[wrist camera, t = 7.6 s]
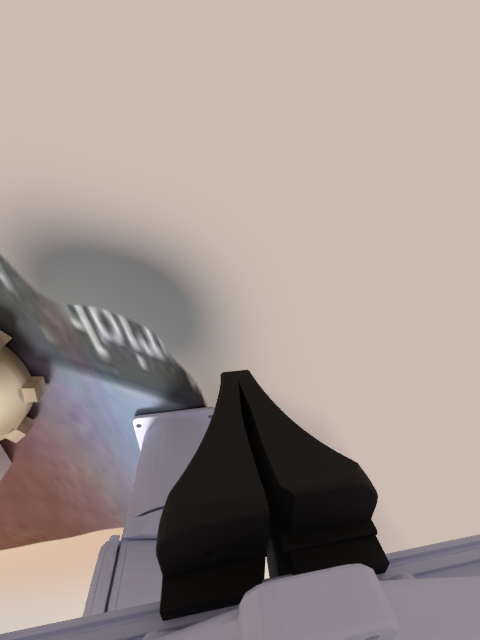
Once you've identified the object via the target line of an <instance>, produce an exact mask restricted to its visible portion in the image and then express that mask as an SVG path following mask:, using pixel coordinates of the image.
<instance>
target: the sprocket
mask: <svg viewBox="0 0 480 640" xmlns="http://www.w3.org/2000/svg"><path fill="white" fill-rule="evenodd" d="M11 339H12V337H10V336H9V335H7V334H6V333H4V332H3V331H1V330H0V441H1V440H3V439H5V438H6V439H8V440H11V441H13V442H15V443H17V442H18V441H19V440H20V439H22V438H23V437H24V436H25V435H27V433H28V432H29V430H30V429H31V427H32V426H33V424H34V423H35V421H34V420H32V419H31V418H29V417H27V416H26V415H27V413H28V412H29V411H30V409H31V407H32V405H33V402H38V401H39V400H40V398H41V397H42V395H43V394H44V393H45V391H46V390H47V388H46V384H45V380H44V376H31V375H30V373H29V371H28V370H27V368H26V366H25V365H24V364H23V362H22V361H21V360H20V359H19V358H18V357H17V356H16V354H15V353H14V352H12V351H11V350H10V349H9V348H8V347H7V346H5V345H6V344H7V343H8V342H9V341H10V340H11Z"/></svg>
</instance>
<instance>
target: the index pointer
mask: <svg viewBox="0 0 480 640" xmlns="http://www.w3.org/2000/svg"><path fill="white" fill-rule="evenodd" d="M11 464H12V462H11V461H10V459H9V457H8V456H7V454H6V453H5V451H4V449H3V448H2V446H1V445H0V481H1V479H2V478H3V476H4V475H5V473H6V472H7V470H8V469H9V467H10V466H11Z"/></svg>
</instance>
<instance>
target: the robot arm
mask: <svg viewBox="0 0 480 640" xmlns="http://www.w3.org/2000/svg"><path fill="white" fill-rule="evenodd" d="M209 415H211V416H209ZM138 424H140V425H138ZM133 426H134V430H135V433H136V437H137V441H138V444H139V448H140V457H139V462H138V467H137V472H136V477H135V482H134V487H133V492H132V497H131V502H130V507H129V512H128V516H127V519H126V522H125V526H124V530H123V535H122V539H121V541H119V537H120V536H118V535H113V536H111V537H110V540H109V541H107V542H106V543H105V544H104V545H103V546H102V547H101V550H100V552H99V556H98V560H97V563H96V566H95V570H94V574H93V578H92V582H91V585H90V589H89V593H88V597H87V601H86V605H85V609H84V613H83V617H81V618H76V619H72V620H67V621H62V622H57V623H52V624H48V625H43V626H38V627H34V628H29V629H24V630H19V631H14V632H9V633H5V634H0V640H480V535H475V536H471V537H466V538H461V539H456V540H451V541H446V542H441V543H437V544H432V545H427V546H422V547H417V548H412V549H408V550H403V551H398V552H394V553H389V554H385V553H384V551H383V549H382V547H381V545H380V543H379V541H378V540H377V537H376V535H377V529H376V527H375V526H374V524H373V522H372V520H371V518H372V515H373V512H374V509H375V507H376V504H377V498H378V495H377V492H376V490H375V488H374V486H373V485H372V483H371V481H370V480H369V478H368V477H367V475H366V474H365V472H364V471H363V470H362V469H361V467H360V466H359V464H358V463H356V462H354V461H353V460H351V459H349V458H347V457H345V456H343V455H342V454H340V453H337V452H336V451H334V450H333V449H331V448H329V447H328V446H326V445H324V444H323V443H321V442H320V441H318V440H317V439H315V438H314V437H313V436H311V435H310V434H309V433H307V432H306V431H304V430H303V429H302V428H301V427H299V426H298V425H297V424H296V423H295V422H293V421H292V420H291V419H290V418H289V417H288V416H287V415H285V414H284V412H283V411H281V410H280V408H279V407H277V406H276V404H275V403H274V402H273V401H272V400H271V399H270V398H269V397H268V395H267V394H266V393H265V392H264V391H263V389H262V388H261V387H260V386H259V384H258V383H257V382H256V380H255V379H254V378H253V376H252V375H251V373H250V371H248V370H242V371H232V372H224V373H222V374H221V385H220V391H219V395H218V399H217V403H216V407H215V409H214V408H213V407H204V408H196V409H188V410H180V411H172V412H163V413H155V414H147V415H139V416H135V417H134V418H133ZM265 557H267V563H268V569H269V576H270V578H268V579H264V573H265Z"/></svg>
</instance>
